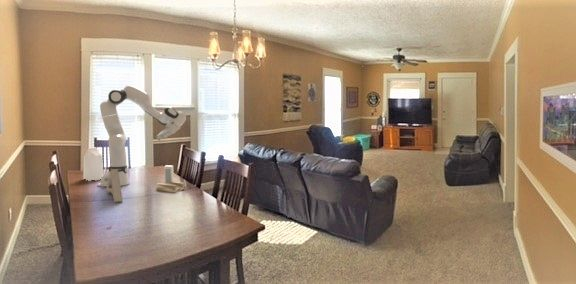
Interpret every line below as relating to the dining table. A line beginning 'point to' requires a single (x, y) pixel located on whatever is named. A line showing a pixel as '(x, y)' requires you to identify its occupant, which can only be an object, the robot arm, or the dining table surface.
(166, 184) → the stand
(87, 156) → the milk
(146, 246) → the dining table surface
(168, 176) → the white grey box
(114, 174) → the wall bracket
